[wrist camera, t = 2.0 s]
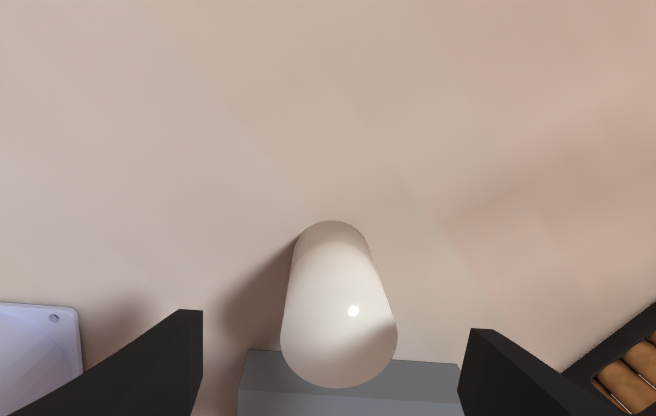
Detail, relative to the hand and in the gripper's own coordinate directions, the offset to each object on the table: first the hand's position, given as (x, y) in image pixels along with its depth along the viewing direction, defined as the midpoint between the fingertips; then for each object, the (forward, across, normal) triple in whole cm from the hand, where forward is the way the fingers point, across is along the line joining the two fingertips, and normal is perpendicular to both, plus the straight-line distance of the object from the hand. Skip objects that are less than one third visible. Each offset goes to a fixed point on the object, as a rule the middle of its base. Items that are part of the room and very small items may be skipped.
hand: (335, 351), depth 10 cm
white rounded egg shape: (+9, 0, +1) cm, 9 cm away
